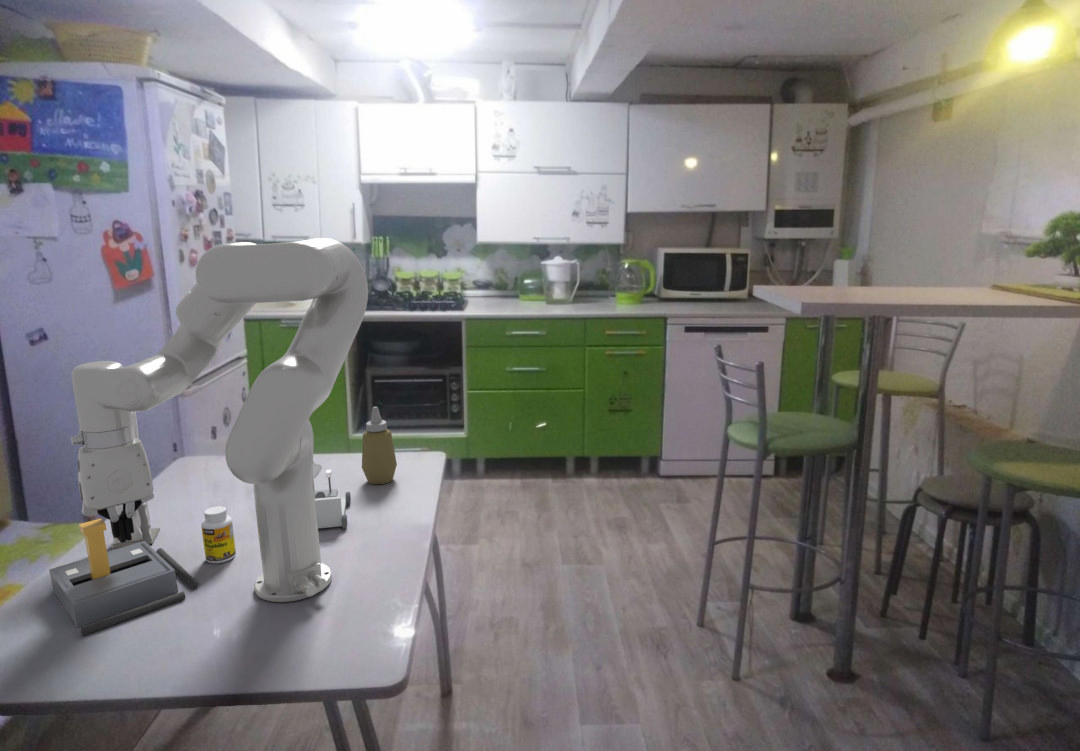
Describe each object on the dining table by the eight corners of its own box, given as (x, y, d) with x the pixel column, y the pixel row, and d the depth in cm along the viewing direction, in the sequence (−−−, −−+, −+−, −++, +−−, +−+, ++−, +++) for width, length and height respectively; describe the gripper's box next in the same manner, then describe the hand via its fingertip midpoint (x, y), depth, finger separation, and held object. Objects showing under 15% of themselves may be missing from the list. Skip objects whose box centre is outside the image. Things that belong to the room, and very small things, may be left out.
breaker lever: (114, 578, 123) (105, 523, 120) (93, 585, 121) (83, 529, 118) (109, 572, 125) (100, 518, 122) (88, 579, 123) (78, 524, 120)
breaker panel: (178, 591, 124) (174, 569, 123) (77, 627, 114) (72, 603, 113) (147, 560, 135) (144, 540, 134) (53, 590, 125) (49, 568, 124)
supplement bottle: (202, 565, 133) (195, 517, 131) (210, 552, 138) (204, 505, 136) (232, 563, 134) (226, 514, 131) (239, 550, 139) (233, 503, 136)
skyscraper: (103, 551, 139) (79, 410, 133) (114, 533, 147) (92, 399, 140) (152, 544, 142) (131, 405, 135) (160, 527, 149) (141, 395, 143)
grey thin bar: (185, 599, 122) (184, 592, 121) (83, 636, 111) (82, 629, 111) (183, 596, 122) (182, 590, 122) (81, 633, 112) (80, 626, 112)
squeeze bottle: (404, 478, 174) (400, 405, 170) (380, 489, 167) (375, 414, 163) (380, 472, 178) (375, 401, 174) (355, 482, 171) (349, 409, 167)
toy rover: (293, 460, 159) (348, 456, 162) (298, 502, 162) (351, 497, 164) (281, 491, 142) (342, 486, 144) (286, 538, 145) (346, 532, 147)
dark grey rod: (199, 586, 125) (198, 580, 125) (191, 589, 125) (191, 583, 124) (163, 553, 138) (162, 547, 138) (156, 555, 137) (155, 549, 137)
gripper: (60, 452, 112) (79, 561, 117) (164, 431, 123) (178, 532, 127) (50, 441, 118) (68, 546, 122) (150, 422, 128) (163, 519, 132)
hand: (124, 538), depth 124 cm, fingers closed
